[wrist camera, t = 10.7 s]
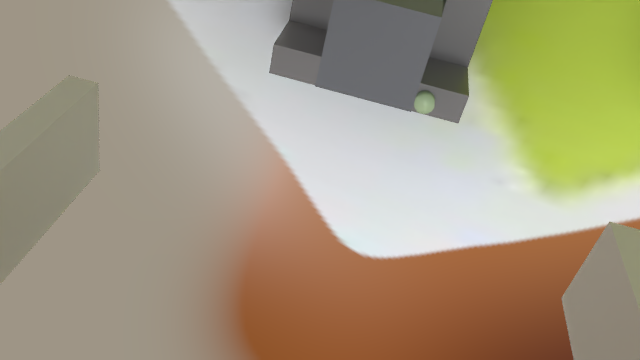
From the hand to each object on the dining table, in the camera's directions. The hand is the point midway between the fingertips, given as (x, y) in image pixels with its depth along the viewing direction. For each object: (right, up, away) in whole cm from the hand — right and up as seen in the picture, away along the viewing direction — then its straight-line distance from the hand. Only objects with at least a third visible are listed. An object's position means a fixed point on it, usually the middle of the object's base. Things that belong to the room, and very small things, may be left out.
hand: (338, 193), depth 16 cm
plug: (+4, +12, +18) cm, 22 cm away
